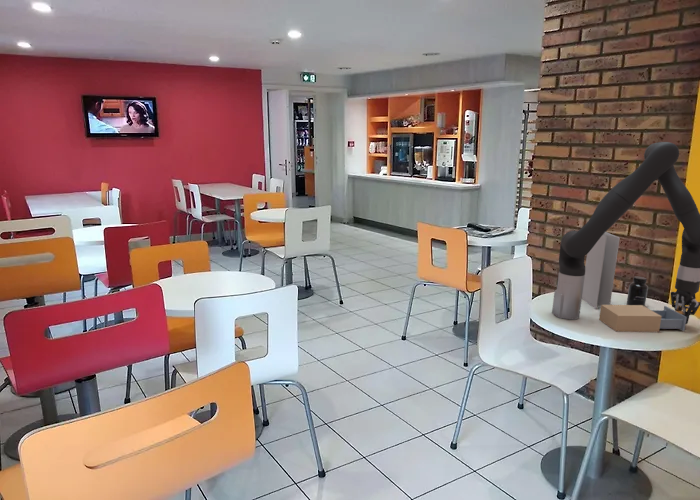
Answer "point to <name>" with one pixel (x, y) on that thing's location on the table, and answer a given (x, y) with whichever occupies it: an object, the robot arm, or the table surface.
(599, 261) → the grey standing panel
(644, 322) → the sleeve
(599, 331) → the table surface
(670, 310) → the tray
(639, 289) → the supplement bottle
